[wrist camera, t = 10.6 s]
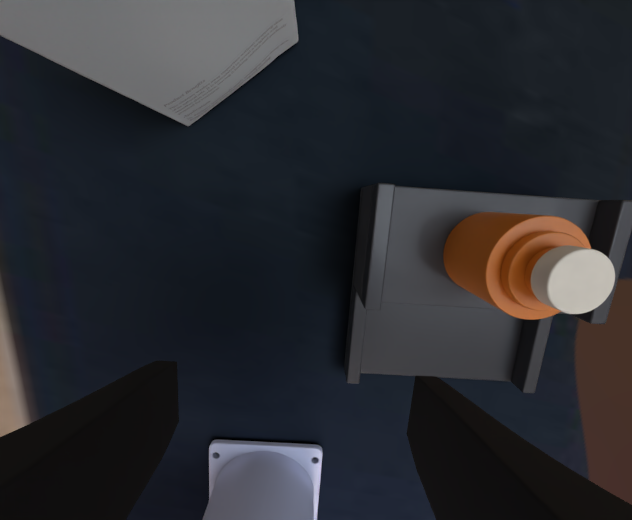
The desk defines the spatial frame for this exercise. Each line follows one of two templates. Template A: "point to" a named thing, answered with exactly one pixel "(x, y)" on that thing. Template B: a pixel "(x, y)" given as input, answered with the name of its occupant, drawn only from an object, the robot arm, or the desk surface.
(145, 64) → the cosmetic box
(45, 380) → the desk surface
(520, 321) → the rack
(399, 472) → the desk surface
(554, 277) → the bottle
